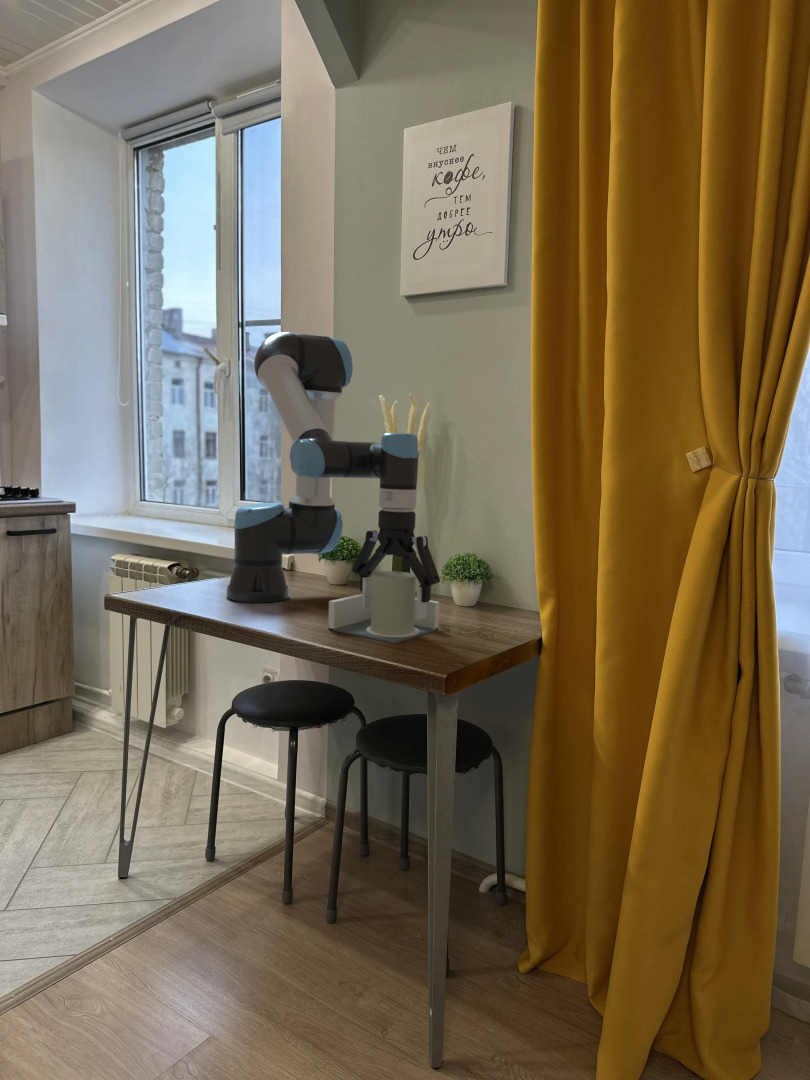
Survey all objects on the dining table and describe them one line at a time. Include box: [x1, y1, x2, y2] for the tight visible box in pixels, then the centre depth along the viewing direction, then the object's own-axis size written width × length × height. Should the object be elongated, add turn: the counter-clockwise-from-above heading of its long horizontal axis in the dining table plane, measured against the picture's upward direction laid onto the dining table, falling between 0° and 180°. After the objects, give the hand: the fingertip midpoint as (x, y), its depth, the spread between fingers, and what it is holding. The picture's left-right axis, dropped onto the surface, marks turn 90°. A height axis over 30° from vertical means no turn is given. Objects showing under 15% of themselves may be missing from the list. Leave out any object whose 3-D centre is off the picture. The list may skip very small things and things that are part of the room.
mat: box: [327, 619, 439, 644], centre depth 156 cm, size 17×16×1 cm
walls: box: [327, 593, 440, 632], centre depth 155 cm, size 17×16×6 cm
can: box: [370, 570, 417, 635], centre depth 153 cm, size 9×9×12 cm
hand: (393, 612), depth 153 cm, fingers open, 13 cm apart
